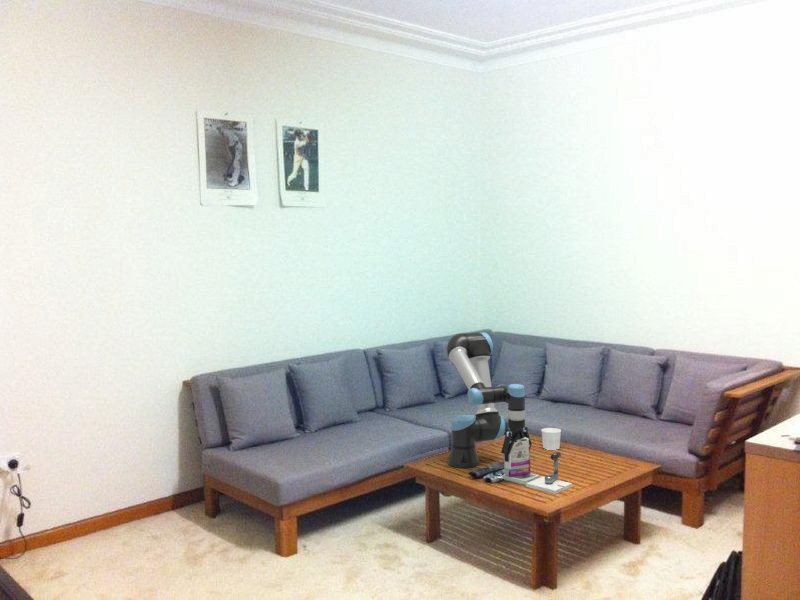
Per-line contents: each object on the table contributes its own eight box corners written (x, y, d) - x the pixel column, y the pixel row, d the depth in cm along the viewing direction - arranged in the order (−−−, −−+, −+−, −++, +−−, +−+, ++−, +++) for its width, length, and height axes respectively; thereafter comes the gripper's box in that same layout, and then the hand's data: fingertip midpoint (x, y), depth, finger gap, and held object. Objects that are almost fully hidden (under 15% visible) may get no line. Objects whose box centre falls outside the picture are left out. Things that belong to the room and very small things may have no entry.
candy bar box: (524, 471, 333) (524, 436, 332) (530, 474, 328) (530, 438, 327) (503, 474, 329) (503, 438, 328) (508, 477, 324) (508, 441, 323)
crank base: (526, 486, 317) (526, 482, 317) (542, 479, 326) (542, 475, 326) (555, 494, 307) (555, 490, 307) (571, 486, 316) (571, 482, 316)
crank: (550, 484, 314) (550, 458, 313) (543, 482, 316) (543, 457, 315) (562, 477, 323) (562, 452, 322) (554, 476, 325) (554, 451, 324)
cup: (537, 447, 380) (537, 429, 379) (553, 445, 384) (553, 427, 383) (549, 452, 371) (549, 433, 370) (565, 449, 375) (565, 431, 374)
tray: (494, 477, 331) (494, 473, 330) (508, 472, 338) (508, 468, 338) (525, 485, 319) (525, 481, 319) (539, 479, 326) (539, 475, 326)
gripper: (525, 413, 338) (525, 457, 340) (492, 422, 321) (493, 469, 322) (539, 415, 333) (539, 460, 334) (506, 425, 315) (507, 472, 317)
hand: (516, 465), depth 328 cm, fingers open, 13 cm apart
